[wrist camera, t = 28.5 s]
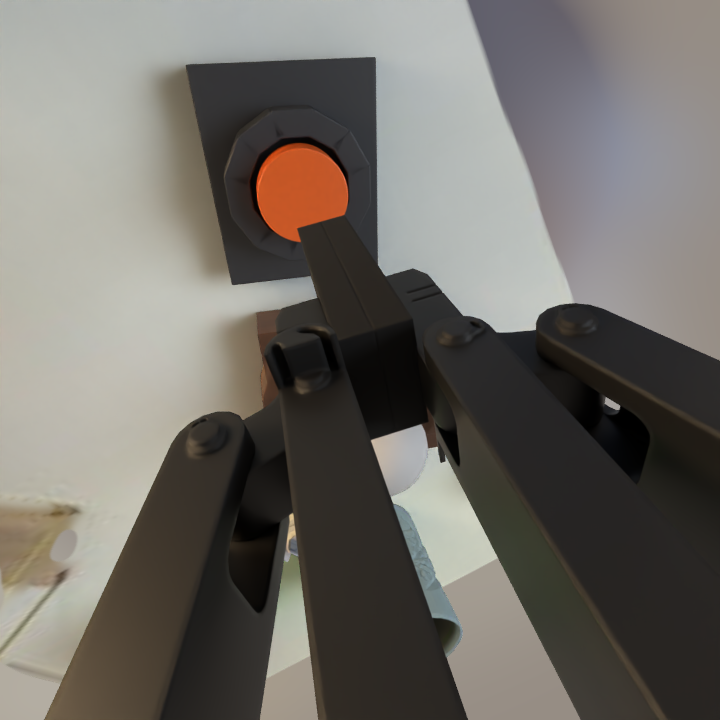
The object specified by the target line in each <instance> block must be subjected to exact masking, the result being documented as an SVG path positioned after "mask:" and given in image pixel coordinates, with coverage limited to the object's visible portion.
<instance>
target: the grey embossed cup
mask: <svg viewBox="0 0 720 720" xmlns="http://www.w3.org/2000/svg"><path fill="white" fill-rule="evenodd" d="M393 505H394V508H395V511H396V514H397V517H398V520H399V522H400V525H401V528H402V531H403V534H404V537H405V540H406V543H407V546H408V548H409V551H410V554H411V557H412V560H413V563H414V566H415V569H416V571H417V574H418V577H419V580H420V583H421V586H422V589H423V592H424V595H425V597H426V600H427V603H428V606H429V609H430V612H431V615H432V618H433V620H434V623H435V626H436V629H437V632H438V635H439V638H440V641H441V644H442V646H443V649H444V652H445V655H446V658H447V657H448V656H449V655H450V654H451V653H452V652H453V651H454V649H455V648H456V646H457V645H458V644H459V642H460V640H461V638H462V632H463V631H462V627H461V624H460V622H459V620H458V618H457V616H456V614H455V612H454V610H453V608H452V606H451V604H450V602H449V600H448V598H447V597H446V595H445V593H444V591H443V589H442V587H441V584H440V582H439V581H438V580H437V579H436V577H435V571H434V567H433V565H432V563H431V561H430V559H429V557H428V554H427V551H426V549H425V547H424V546H422V542H421V539H420V536H419V534H418V532H417V529H416V527H415V525H414V523H413V521H412V519H411V516H410V515H409V514H408V512H407V511H406V510H405V509H404V508H402V507H400V506H398V505H395V504H393Z"/></svg>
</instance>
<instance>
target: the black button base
mask: <svg viewBox="0 0 720 720" xmlns="http://www.w3.org/2000/svg"><path fill="white" fill-rule="evenodd" d="M186 70H187V74H188V79H189V84H190V89H191V93H192V98H193V103H194V107H195V112H196V117H197V122H198V126H199V131H200V136H201V141H202V145H203V150H204V155H205V159H206V164H207V169H208V174H209V178H210V183H211V188H212V192H213V197H214V202H215V207H216V211H217V216H218V221H219V225H220V230H221V235H222V240H223V244H224V249H225V254H226V258H227V263H228V268H229V273H230V277H231V282H232V285H238V284H246V283H255V282H263V281H272V280H280V279H288V278H297V277H305V276H311V274H310V271H309V267H308V264H307V261H306V257H305V254H304V251H303V247H302V244H301V242H296V241H291V240H288V239H286V238H284V237H282V236H280V235H279V234H277V233H276V232H275V231H273V230H272V229H271V228H270V227H269V225H268V224H267V223H266V221H265V220H264V218H263V216H262V214H261V212H260V209H259V205H258V200H257V190H256V182H257V176H258V173H259V170H260V167H261V165H262V163H263V162H264V160H265V159H266V158H267V157H268V155H269V154H271V153H272V152H273V151H274V150H276V149H277V148H279V147H281V146H283V145H287V144H291V143H306V144H310V145H313V146H315V147H318V148H319V149H321V150H322V151H324V152H325V153H326V154H327V155H329V157H330V158H331V159H332V160H333V161H334V162H335V163H336V164H337V165H338V167H339V168H340V170H341V171H342V173H343V175H344V177H345V180H346V183H347V187H348V204H347V209H346V212H345V214H344V215H345V216H346V218H347V219H348V221H349V222H350V224H351V225H352V227H353V228H354V230H355V231H356V233H357V235H358V236H359V238H360V239H361V241H362V242H363V244H364V245H365V247H366V248H367V250H368V251H369V253H370V254H371V256H372V257H373V259H374V260H375V262H376V263H377V265H378V238H377V138H376V58H375V57H365V58H340V59H314V60H289V61H264V62H239V63H214V64H190V65H186Z"/></svg>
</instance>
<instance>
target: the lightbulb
mask: <svg viewBox="0 0 720 720" xmlns="http://www.w3.org/2000/svg"><path fill="white" fill-rule="evenodd" d="M371 442H372V445H373V448H374V450H375V453H376V456H377V459H378V462H379V465H380V468H381V471H382V473H383V476H384V479H385V482H386V485H387V488H388V491H389V494H390V496H393V495H396V494H399V493H401V492H403V491H405V490H406V489H408V488H409V487H411V486H412V485H413V484H414V483H415V482H416V480H417V479H418V478H419V476H420V475H421V473H422V471H423V469H424V466H425V463H426V460H427V454H428V443H427V438H426V434H425V431H424V429H423V427H422V425H418V426H414V427H411V428H408V429H405V430H402V431H399V432H395V433H392V434H389V435H386V436H383V437H380V438H376V439H373V440H371Z"/></svg>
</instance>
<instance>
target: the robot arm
mask: <svg viewBox="0 0 720 720" xmlns="http://www.w3.org/2000/svg"><path fill="white" fill-rule="evenodd" d="M297 230H298V234H299V237H300V240H301V244H302V247H303V251H304V254H305V257H306V261H307V264H308V267H309V271H310V274H311V278H312V281H313V284H314V288H315V291H316V294H317V298H316V299H313V300H309V301H306V302H302V303H299V304H296V305H292V306H289V307H285V308H282V309H281V310H280V312H279V314H278V316H277V318H276V320H275V325H276V332H277V335H276V336H275V337H273V338H272V339H271V340H270V342H269V343H268V344H267V345H266V347H265V351H264V357H265V360H266V362H267V364H268V367H269V369H270V372H271V374H272V376H273V379H274V381H275V384H276V386H277V388H278V393H279V394H278V395H277V396H276V398H275V399H274V400H273V401H272V402H271V403H270V404H269V405H268V406H266V407H265V408H263V409H262V410H260V411H259V412H257V413H255V414H253V415H252V416H250V417H248V418H246V419H245V420H242V419H241V417H240V416H239V415H237V414H234V413H232V412H215V413H211V414H208V415H204V416H202V417H200V418H198V419H197V420H195V421H193V422H191V423H190V424H188V425H187V426H186V427H185V428H184V429H183V430H182V431H180V432H179V434H178V435H177V436H176V438H175V439H174V441H173V442H172V444H171V446H170V448H169V450H168V453H167V455H166V457H165V459H164V461H163V463H162V466H161V468H160V470H159V472H158V474H157V476H156V479H155V481H154V483H153V485H152V487H151V489H150V492H149V494H148V496H147V498H146V500H145V502H144V505H143V507H142V509H141V511H140V513H139V515H138V518H137V520H136V522H135V524H134V526H133V528H132V531H131V533H130V535H129V537H128V539H127V541H126V544H125V546H124V548H123V550H122V552H121V554H120V557H119V559H118V561H117V563H116V565H115V567H114V570H113V572H112V574H111V576H110V578H109V580H108V583H107V585H106V587H105V589H104V591H103V593H102V596H101V598H100V600H99V602H98V604H97V606H96V609H95V611H94V613H93V615H92V617H91V619H90V622H89V624H88V626H87V628H86V630H85V633H84V635H83V637H82V639H81V641H80V643H79V646H78V648H77V650H76V652H75V654H74V656H73V659H72V661H71V663H70V665H69V667H68V669H67V672H66V674H65V676H64V678H63V680H62V682H61V685H60V687H59V689H58V691H57V693H56V695H55V698H54V700H53V702H52V704H51V706H50V708H49V711H48V713H47V715H46V717H45V719H44V720H260V713H261V707H262V700H263V694H264V688H265V680H266V675H267V668H268V661H269V655H270V648H271V642H272V635H273V629H274V622H275V616H276V609H277V602H278V596H279V589H280V583H281V576H282V570H283V563H284V557H285V550H286V543H287V537H288V530H289V524H290V517H289V515H291V514H292V513H293V516H294V524H295V532H296V541H297V549H298V557H299V565H300V573H301V581H302V590H303V598H304V606H305V614H306V622H307V631H308V639H309V647H310V655H311V663H312V672H313V680H314V688H315V696H316V704H317V713H318V720H468V718H467V716H466V713H465V710H464V707H463V704H462V701H461V699H460V696H459V693H458V690H457V687H456V684H455V681H454V678H453V675H452V672H451V670H450V667H449V664H448V661H447V658H446V655H445V652H444V649H443V646H442V644H441V641H440V638H439V635H438V632H437V629H436V626H435V623H434V620H433V618H432V615H431V612H430V609H429V606H428V603H427V600H426V597H425V595H424V592H423V589H422V586H421V583H420V580H419V577H418V574H417V571H416V569H415V566H414V563H413V560H412V557H411V554H410V551H409V548H408V546H407V543H406V540H405V537H404V534H403V531H402V528H401V525H400V522H399V520H398V517H397V514H396V511H395V508H394V505H393V502H392V499H391V497H390V494H389V491H388V488H387V485H386V482H385V479H384V476H383V473H382V471H381V468H380V465H379V462H378V459H377V456H376V453H375V450H374V448H373V445H372V442H371V440H373V439H376V438H380V437H383V436H386V435H389V434H392V433H395V432H399V431H402V430H405V429H408V428H411V427H414V426H418V425H421V424H424V423H427V422H429V420H428V413H427V408H428V410H429V412H430V413H431V415H432V417H433V419H434V424H435V431H436V438H437V445H438V452H439V457H440V462H441V463H442V462H445V455H446V457H447V459H448V461H449V463H450V465H451V467H452V469H453V471H454V473H455V475H456V477H457V479H458V481H459V482H460V484H461V486H462V488H463V490H464V492H465V494H466V496H467V498H468V500H469V502H470V504H471V506H472V508H473V510H474V512H475V514H476V516H477V518H478V520H479V522H480V524H481V525H482V527H483V529H484V531H485V533H486V535H487V537H488V539H489V541H490V543H491V545H492V547H493V549H494V551H495V553H496V555H497V557H498V559H499V561H500V563H501V565H502V566H503V568H504V570H505V572H506V574H507V576H508V578H509V580H510V582H511V584H512V586H513V587H514V590H515V592H516V594H517V596H518V598H519V600H520V602H521V604H522V606H523V608H524V610H525V611H526V613H527V615H528V617H529V619H530V621H531V623H532V625H533V627H534V629H535V631H536V633H537V635H538V637H539V639H540V641H541V643H542V645H543V647H544V649H545V651H546V652H547V654H548V656H549V658H550V660H551V662H552V664H553V666H554V668H555V670H556V672H557V674H558V676H559V678H560V680H561V682H562V684H563V686H564V688H565V690H566V691H567V693H568V695H569V697H570V699H571V701H572V703H573V705H574V707H575V709H576V711H577V713H578V715H579V717H580V719H581V720H720V361H719V360H717V359H715V358H712V357H710V356H708V355H706V354H703V353H701V352H699V351H697V350H694V349H692V348H690V347H688V346H685V345H683V344H681V343H679V342H676V341H674V340H672V339H670V338H667V337H665V336H663V335H661V334H658V333H656V332H654V331H652V330H649V329H647V328H645V327H643V326H640V325H638V324H636V323H634V322H631V321H629V320H627V319H625V318H622V317H620V316H618V315H616V314H613V313H611V312H609V311H607V310H604V309H602V308H598V307H595V306H592V305H585V304H577V303H573V304H564V305H558V306H555V307H552V308H549V309H547V310H546V311H544V312H543V313H542V314H540V315H539V317H538V320H537V322H536V330H533V331H523V332H512V333H497V332H495V331H494V330H493V328H492V327H491V326H490V325H489V324H487V323H486V322H484V321H483V320H481V319H478V318H474V317H470V316H463V315H462V314H461V313H460V312H459V311H458V309H457V308H456V307H455V306H454V305H453V304H452V302H451V301H450V300H449V299H448V298H447V297H446V295H445V294H444V293H442V291H441V290H440V288H439V287H438V286H437V285H436V284H435V283H434V281H433V280H432V279H431V278H430V277H429V276H428V274H425V273H423V272H420V271H418V270H415V269H410V270H406V271H403V272H400V273H396V274H393V275H389V276H386V277H385V275H384V274H383V272H382V271H381V269H380V268H379V266H378V265H377V263H376V262H375V260H374V259H373V257H372V256H371V254H370V253H369V251H368V250H367V248H366V247H365V245H364V244H363V242H362V241H361V239H360V238H359V236H358V235H357V233H356V231H355V230H354V228H353V227H352V225H351V224H350V222H349V221H348V219H347V218H346V216H345V215H342V216H339V217H335V218H332V219H328V220H324V221H321V222H317V223H314V224H310V225H307V226H303V227H300V228H297ZM605 397H607V398H609V399H611V400H612V401H614V402H615V403H617V404H619V405H620V410H615V409H613V408H610V407H609V406H607V405H606V404H604V403H605ZM426 406H427V407H426Z"/></svg>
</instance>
